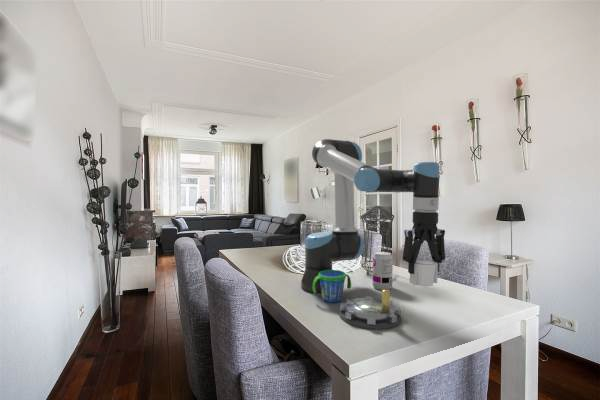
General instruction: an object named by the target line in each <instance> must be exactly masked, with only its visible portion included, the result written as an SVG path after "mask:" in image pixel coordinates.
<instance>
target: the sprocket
mask: <svg viewBox="0 0 600 400" xmlns="http://www.w3.org/2000/svg"><path fill="white" fill-rule="evenodd" d="M339 311H346V318H348V319H350V320H352V319H357V320H360V321H365V322H367V324H372V325H376V322H386V321H387V322H390V323H394V322H397V316H396V315H398V316H401V317H402V308H401V307H400V306H394V305H393V301H391V289H389V290H387V289H383V290H381V299H379V298H373V296H367V295H366V296H365V297H355V298H354V297H347V298H346V302H345V303H344V302H339Z"/></svg>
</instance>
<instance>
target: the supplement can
mask: <svg viewBox="0 0 600 400" xmlns="http://www.w3.org/2000/svg"><path fill="white" fill-rule="evenodd" d="M393 257H394V256H393V255H392V252H391V253H390V251H388V252H386V251H384V252H382V251H375V252H374V253H373V255H372V261H373V262H372V267H373V269H372V271H373V272H372V286H373V288H375V289H377V290H380V291H382V290H383V289H387V290H391V289H392V288H393V263H394V260H393V259H394V258H393Z"/></svg>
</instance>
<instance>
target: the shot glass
mask: <svg viewBox="0 0 600 400" xmlns="http://www.w3.org/2000/svg"><path fill="white" fill-rule="evenodd" d="M431 261H432V260H425V259H416V262H415V263H416V264H418V271H417V285H416V286H420V287H427V288H428V287H432V286H434V283H433V280H434V273H435V265H436V263H434V262H431Z"/></svg>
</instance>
